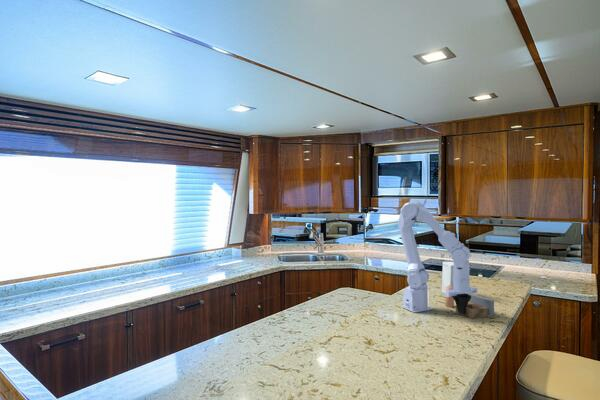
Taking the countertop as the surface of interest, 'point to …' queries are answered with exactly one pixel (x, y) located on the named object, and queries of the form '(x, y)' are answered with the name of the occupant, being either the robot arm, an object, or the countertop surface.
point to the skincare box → (447, 275)
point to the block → (474, 311)
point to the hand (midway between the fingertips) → (461, 313)
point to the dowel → (449, 298)
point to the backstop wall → (483, 303)
